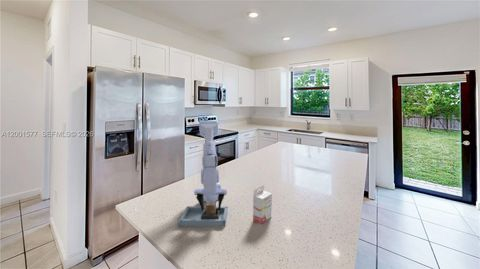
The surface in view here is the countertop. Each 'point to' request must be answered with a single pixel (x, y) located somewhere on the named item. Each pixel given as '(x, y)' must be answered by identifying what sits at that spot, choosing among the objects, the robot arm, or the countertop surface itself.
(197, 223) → the blue shallow rectangular tray
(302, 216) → the countertop surface
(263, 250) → the countertop surface
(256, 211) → the ink cartridge box
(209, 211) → the tan wooden block
